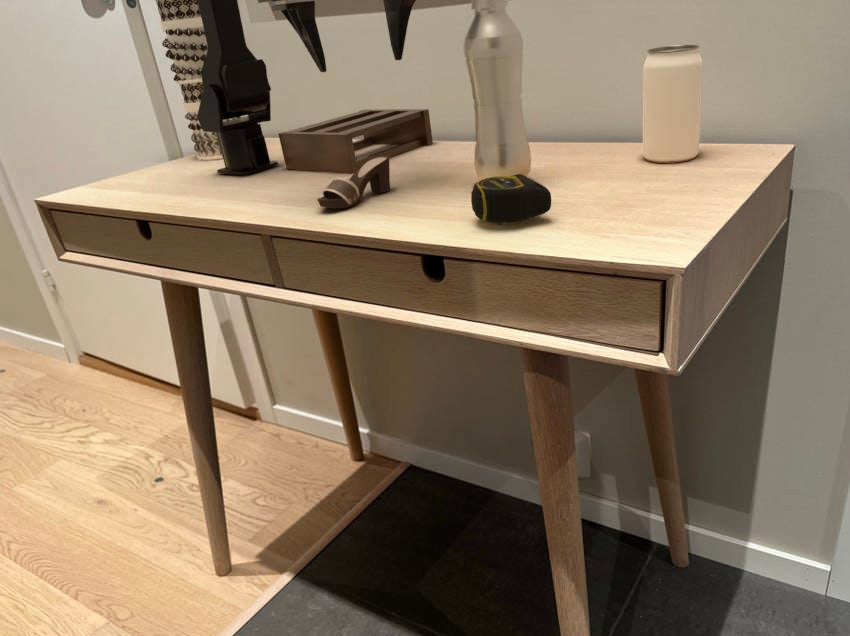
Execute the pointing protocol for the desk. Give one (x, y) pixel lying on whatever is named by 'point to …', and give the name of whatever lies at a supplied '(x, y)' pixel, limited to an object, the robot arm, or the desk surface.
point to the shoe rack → (333, 138)
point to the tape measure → (509, 199)
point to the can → (672, 103)
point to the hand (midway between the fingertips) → (361, 65)
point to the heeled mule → (357, 184)
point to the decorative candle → (189, 65)
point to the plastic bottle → (497, 91)
